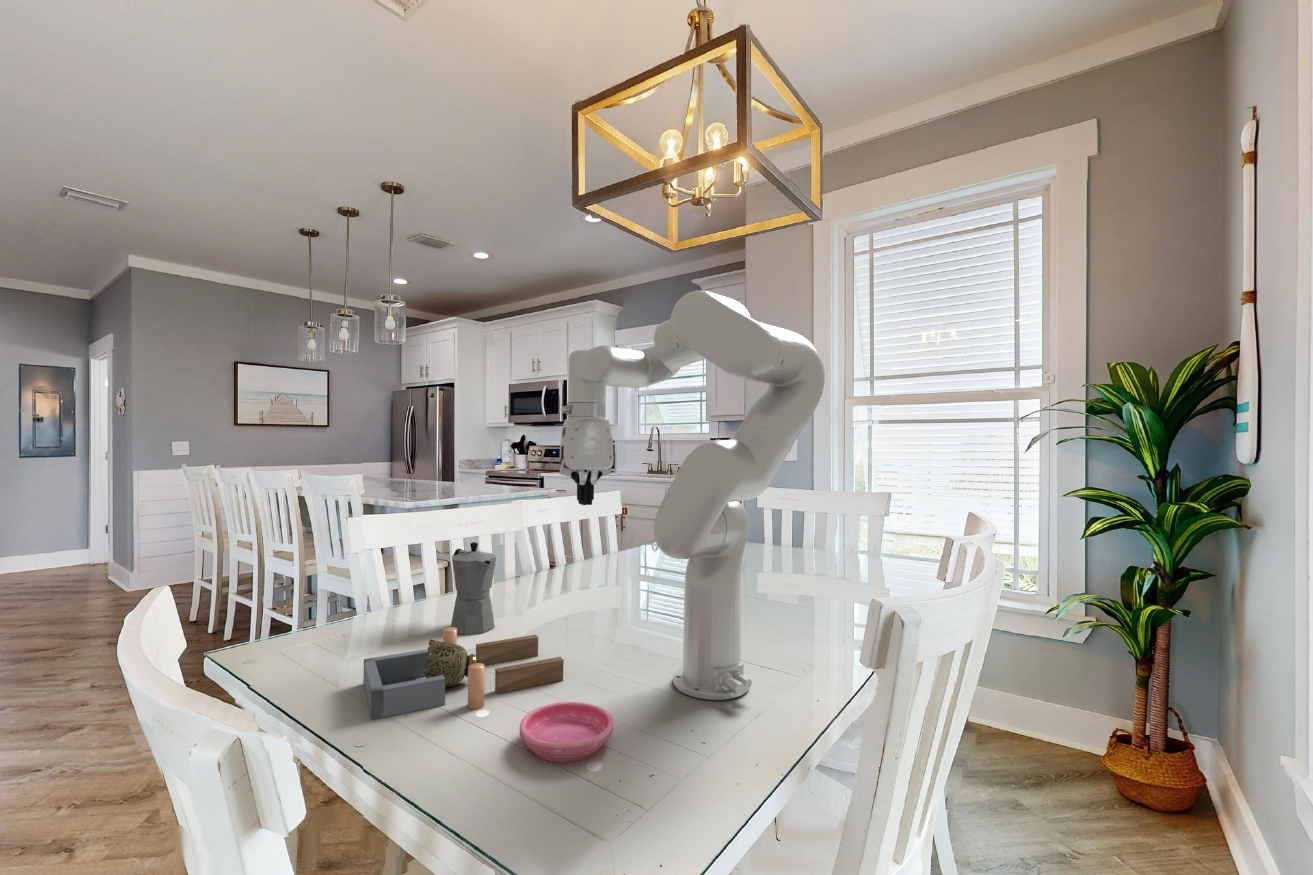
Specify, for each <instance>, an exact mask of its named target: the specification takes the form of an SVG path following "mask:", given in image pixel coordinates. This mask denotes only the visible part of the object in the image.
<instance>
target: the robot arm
mask: <svg viewBox="0 0 1313 875" xmlns="http://www.w3.org/2000/svg"><path fill="white" fill-rule="evenodd" d="M653 344H654V345H653V346H650V347H647V348H644V349H637V350H636V349H631V348H625V347H620V346H612V345H605V344H603V345H597V346H595V347H592V348H590V349H579V350H578V349H577V350H574V351H572V352H571V353H570V354H569V357H568V375H567V376H568V378H567V379H568V382H567V383H568V387H567V388H568V391H567V403H566V405H564V406H563V405H562V406H561V409H560V410H561V413H562V414H566V417H567V418H565V419H564V422H563V426H562V430H561V437H560V445H559V465H560V468H559V474H560V475H562V476H566V477H570V478H571V479H572V481H574V483H575V485H576V500H577V501H578V505H581V506H592V505H593V501H594V499H595V496H594V495H595V485H596V484H597V482H598V480H600V478H601V477H604V476H608V475H611V472H612V470H611V468H612V467H613V465H614V443H613V442H614V441H613V433H612V428H611V422H610V421H611V420H609V419H607V420H606V416H607V415H606V414H607V413H606V410H607V409H606V408H607V405H606V404H607V403H606V401H607V387H620V388H630V389H640V388H641V389H642V388H645V387H650V386H652V385H657V384H658V383H661V382H665V381H667V380H669V379H671V378H673V377H674V376H675V375H676V374H677V373H678V372H679V371H680V370H681V368H682V367H686V366H690V365H692V364H694V363H697V362H700V361H703V360H706V361H707V362H710V363H711V364H712V365H715V366H716V367H717V368H718V369H721V370H722V371H723V372H725V373H727V374H728V375H730V376H732V377H734V378H736V379H740V380H743V381H748V382H753V383H762V384H767V385H768V388H767V390H766V391H765V393H764V394H762V395H761V396H760V397H759V399H757V401H756V402H754V403H753V405H752V406H751V407H750V409H749V410H748V411H747V413H746V415H745V417H744V418H743V421H742V422H741V424H740V426H739V428H738V429H737V430H736V431H735V433H734V435H732V437H730V438H729V439H715V440H707V441H706V442H703V443H702V444H699V445H698V446H696V447H695V448H694V449H693V450H691V452H690V453H689V454H688V455H687V456H686V457H685V459H684V461H683V462H682V464H681V466H680V468H679V469H678V471H677V473H676V475H675V477H674V479H673V480H672V483H671V485H670V486H669V488H668V489H667V492H666V493H665V495H664V497H663V499H662V500H661V502H660V505H659V507H658V509H657V511H656V514H655V518H654V522H653V536H654V541H655V543H656V545H657V547H658V549H659V550H660V551H661V552H662V553H663V554H664V555H666V556H667V557H669V558H672V559H675V560H687V564H686V569H685V572H684V573H685V575H684V593H683V599H684V600H683V643H682V644H683V645H682V646H683V649H682V652H683V653H682V654H683V655H682V656H683V658H682V667H680V668H679V669H677V670H676V671H675V672H674V673H673V680H672V681H673V682H672V683H673V685H674V686H675V688H676V689H677V690H678V691H679V692H681V693H683V694H684V695H687V696H689V697H693V698H697V699H701V700H709V701H724V700H725V701H726V700H732V699H735V698H739V697H741V696H742V695H744V694H746V693H747V692H748V691H749V690H750V687H751V686H752V683H753V682H752V680H751V679H750V678H749V675H747V674H746V673H745V672H744V663H742V662H741V661H742V660H741V656H742V655H741V654H742V651H741V650H742V613H743V612H742V609H743V608H742V607H743V605H742V604H743V570H744V561H745V553H746V549H747V543H748V538H749V532H750V524H749V523H750V522H749V516H748V513H747V511H746V508H745V507H744V506H743V504H742V503H741V502H743V501H749V500H753V499H756V498H757V497H760V496H762V495H763V493H764V492H765V491H767V489H768V488H769V486H770V484H771V483H772V481H773V479H774V478H775V476H776V474H777V472H778V471H779V470H780V468H781V466H782V465H783V463H784V462H785V460H786V458H787V456H788V455H789V453H790V452H791V450H792V448H793V446H794V444H795V442H796V441H797V439H798V438H799V436H800V434H801V433H802V431H803V430H804V428H805V426H806V425H807V424H808V422H809V421H810V419H811V417H812V416H813V414H814V412H815V410H816V409H817V407H818V405H819V403H820V401H821V398H822V395H823V392H824V388H825V382H826V381H825V378H826V377H825V369H824V364H823V361H822V358H821V355H820V353H819V352H818V350H817V349H816V347H814V345H813V344H812V343H811V342H810V340H808V339H807V338H805V337H804V336H803V335H801V334H798V333H796V332H794V331H791V330H789V329H786V328H785V329H784V328H781V327H777V326H773V325H770V324H766V323H763V322H759V321H757V320H754V319H753V318H751V316H750V313H749V312H748V310H747V308H746V307H745V306H744V305H743V304H741V303H740V302H739V301H737V300H735V299H733V298H729V297H726V296H724V295H720V294H718V293H714V292H711V291H707V290H693V291H690V292H688V293H686V294H685V295H683V296H682V297H680V299H679V300H677V302H676V303H675V304H674V306H673V308H672V312H671V315H670V319H667V320H665V321H662V322H661V323H659V324H658V325H657V327H656V328H655V330H654V334H653ZM585 470H586V473H585Z"/></svg>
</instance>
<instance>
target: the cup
mask: <svg viewBox="0 0 1313 875" xmlns="http://www.w3.org/2000/svg"><path fill="white" fill-rule="evenodd" d="M427 649H428V652H429V653H430V656H428V657H427V660H428V662H427V663H426V666H425V668H426V669H427V671H425V672H424V674H425V675H426V676H425V678H429V677H435V676H440V675H444V677H445V688H448V687H454V686H457V685H459V684H460V683H461V682H462V681H463V679H464V678H465V677H466V678H468V666H469V665H471V664H474V663H477V656H476V654H474V653H471V654H468V651H467V649H465V647H464V646H462V645H459V644H457V645H456V644H452V643H447V642H443V641H440V640H433V639H429V642H428V647H427Z"/></svg>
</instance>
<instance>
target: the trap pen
mask: <svg viewBox="0 0 1313 875" xmlns="http://www.w3.org/2000/svg"><path fill="white" fill-rule="evenodd" d="M430 655H431V654H430V653H429V652H428V648H425V649H420V650H419V649H418V650H413V651H407V652H406V651H405V652H401V653H395V654H394V653H393V654H387V655H382V656H376V657H369V658H364V659H363V680H362V681H363V682H362V683H363V687H364V691H365V697H366V700H367V704H368V710H369V713H370V718H371V720H372V721H373V720H378V719H383V718H384V719H385V718H388V717H394V716H398V715H403V714H407V713H412V712H417V711H422V710H426V709H432V708H435V707H436V708H437V707H441V706H445V705H446V687H445V677H444V675H440V676H435V677H429V678H426V675H425V674H424V672H425V671H427V669H426V668H425V666H426V663H427V662H428V660H427V657H428V656H430ZM422 677H423V678H422ZM424 677H425V678H424ZM417 678H420V679H417Z"/></svg>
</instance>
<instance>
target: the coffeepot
mask: <svg viewBox="0 0 1313 875" xmlns="http://www.w3.org/2000/svg"><path fill="white" fill-rule="evenodd" d="M469 545H470V551H468V550H465V549H462V548H456V549H455V551H454V553H453V555H452V556H451V562H452V571H453V576H454V577H453V579H454V585H455V586H454V587H455V590H456V597H455V602H454V607H453V612H452V619H451V624H450V627H455V628H457V635H462V636H463V635H465V636H467V635H468V636H470V635H472V636H473V635H479V634H484V633H488V632H489V631H492V630H493V629H494V628H495V626H496V625H495V620H494V614H493V613H494V612H493V606H492V601H491V598H492V597H491V595H490V594H491V593H490V591H491V590H490V589H492V585H493V579H494V574H495V567H496V562H497V556H496V555H495V553H491V552H486V551H481V550H478V546H479V543H478V542H476V541H474V542H470V543H469Z"/></svg>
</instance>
